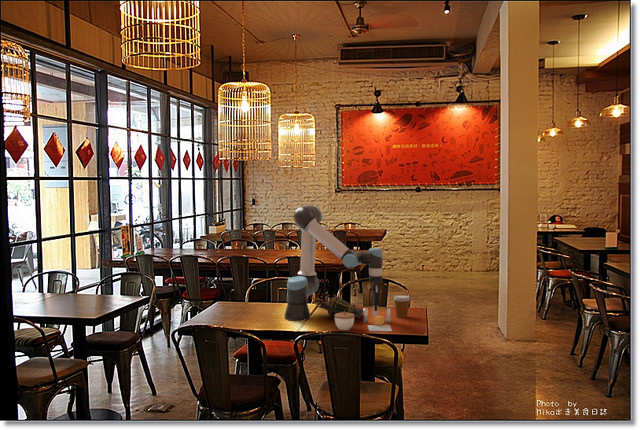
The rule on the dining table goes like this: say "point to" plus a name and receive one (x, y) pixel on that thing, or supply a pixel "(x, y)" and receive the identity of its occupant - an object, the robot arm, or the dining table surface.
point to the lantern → (339, 307)
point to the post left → (365, 315)
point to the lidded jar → (344, 320)
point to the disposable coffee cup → (401, 305)
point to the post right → (388, 315)
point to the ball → (379, 320)
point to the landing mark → (379, 328)
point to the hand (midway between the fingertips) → (375, 315)
